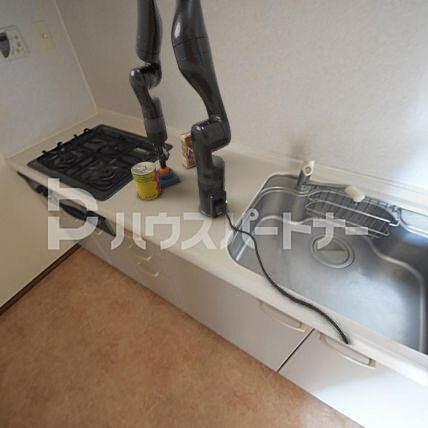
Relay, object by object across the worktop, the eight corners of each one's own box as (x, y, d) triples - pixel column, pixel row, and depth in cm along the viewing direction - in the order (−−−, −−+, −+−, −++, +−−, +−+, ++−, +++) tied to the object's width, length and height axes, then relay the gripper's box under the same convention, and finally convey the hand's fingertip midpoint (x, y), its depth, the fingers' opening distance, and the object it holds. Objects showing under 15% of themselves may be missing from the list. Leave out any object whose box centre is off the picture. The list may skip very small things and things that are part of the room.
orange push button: (179, 181, 101) (178, 173, 99) (162, 188, 99) (161, 180, 96) (169, 170, 108) (167, 163, 105) (152, 177, 105) (150, 169, 102)
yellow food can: (157, 200, 93) (150, 175, 85) (135, 199, 94) (127, 174, 86) (164, 186, 99) (158, 162, 91) (143, 185, 101) (136, 160, 92)
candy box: (187, 169, 108) (184, 137, 97) (183, 165, 110) (179, 134, 100) (204, 162, 111) (202, 131, 100) (199, 158, 114) (197, 128, 103)
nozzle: (171, 172, 100) (170, 168, 99) (162, 176, 99) (161, 172, 97) (166, 168, 102) (165, 164, 101) (158, 171, 101) (157, 167, 100)
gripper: (139, 124, 89) (149, 163, 102) (153, 137, 81) (162, 178, 94) (157, 118, 92) (164, 157, 104) (173, 131, 84) (179, 171, 96)
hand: (163, 167), depth 99 cm, fingers closed
